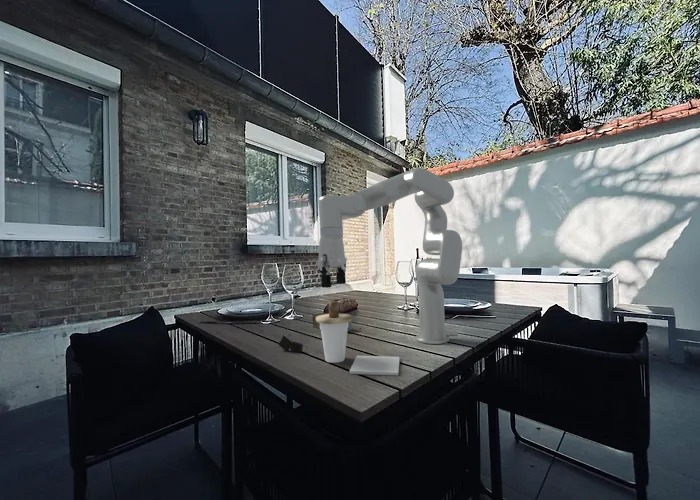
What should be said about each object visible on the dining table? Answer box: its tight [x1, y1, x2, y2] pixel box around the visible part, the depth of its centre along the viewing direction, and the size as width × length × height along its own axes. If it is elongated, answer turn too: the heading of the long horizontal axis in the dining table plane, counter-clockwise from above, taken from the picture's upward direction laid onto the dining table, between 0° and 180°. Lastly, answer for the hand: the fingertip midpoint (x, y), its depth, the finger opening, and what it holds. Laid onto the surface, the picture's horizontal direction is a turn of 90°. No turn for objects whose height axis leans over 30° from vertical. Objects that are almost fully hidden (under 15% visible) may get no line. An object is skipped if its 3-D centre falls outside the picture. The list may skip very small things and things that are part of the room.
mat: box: [349, 355, 401, 376], centre depth 102 cm, size 14×14×1 cm
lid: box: [316, 300, 353, 324], centre depth 110 cm, size 12×12×6 cm
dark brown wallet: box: [277, 333, 304, 353], centre depth 120 cm, size 9×2×6 cm
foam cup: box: [319, 322, 348, 364], centre depth 110 cm, size 10×9×13 cm
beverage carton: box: [312, 312, 352, 332], centre depth 153 cm, size 8×19×6 cm, turn 45°
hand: (334, 285), depth 110 cm, fingers open, 9 cm apart
